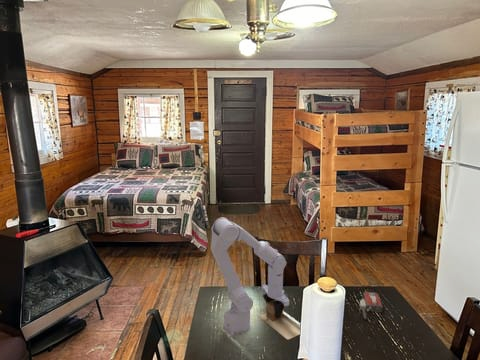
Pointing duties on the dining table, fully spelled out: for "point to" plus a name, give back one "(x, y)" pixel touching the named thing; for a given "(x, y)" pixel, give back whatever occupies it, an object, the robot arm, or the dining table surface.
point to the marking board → (284, 325)
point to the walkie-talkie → (370, 303)
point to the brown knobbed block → (271, 311)
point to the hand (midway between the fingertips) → (274, 314)
